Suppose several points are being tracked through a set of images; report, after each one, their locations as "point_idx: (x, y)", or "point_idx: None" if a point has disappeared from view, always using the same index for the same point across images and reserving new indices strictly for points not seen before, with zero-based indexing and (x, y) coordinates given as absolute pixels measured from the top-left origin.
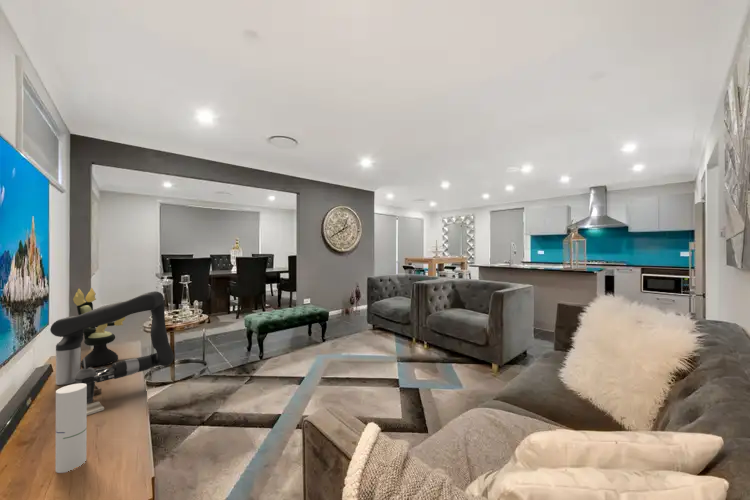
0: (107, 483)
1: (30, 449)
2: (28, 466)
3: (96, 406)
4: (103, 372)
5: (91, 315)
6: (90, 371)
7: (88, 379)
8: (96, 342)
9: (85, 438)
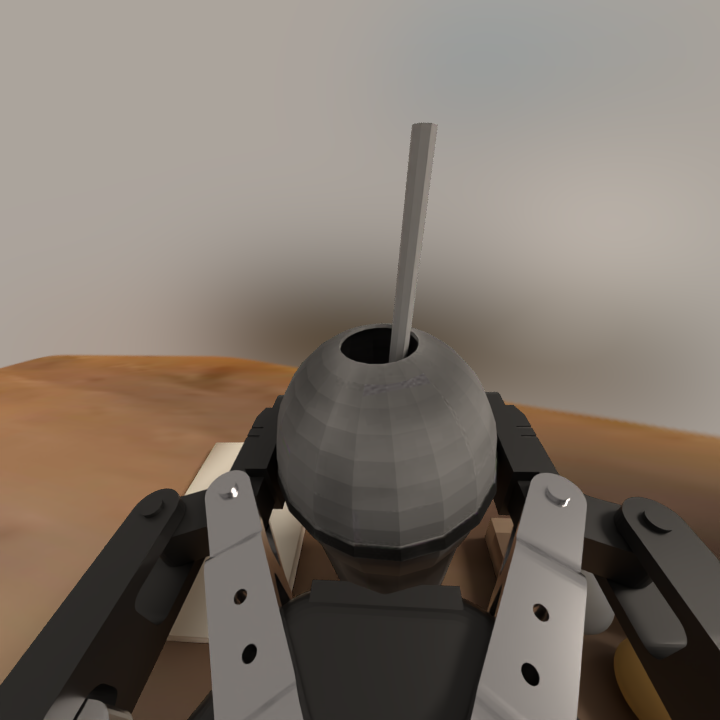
0: None
1: (159, 379)
2: (85, 374)
3: (189, 592)
4: (212, 634)
5: None
6: (289, 401)
7: (248, 435)
8: None
9: None
